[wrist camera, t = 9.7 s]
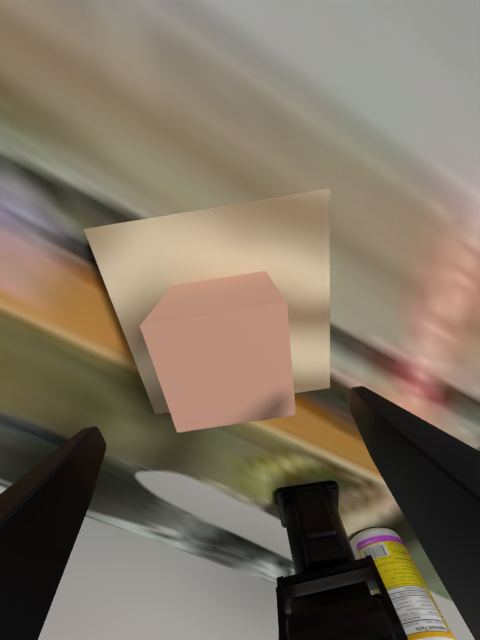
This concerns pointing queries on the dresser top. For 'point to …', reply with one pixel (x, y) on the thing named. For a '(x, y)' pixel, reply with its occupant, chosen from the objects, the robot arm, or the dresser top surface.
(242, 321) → the terracotta cube
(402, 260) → the dresser top surface
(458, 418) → the dresser top surface
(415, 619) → the supplement bottle
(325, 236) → the oak base
